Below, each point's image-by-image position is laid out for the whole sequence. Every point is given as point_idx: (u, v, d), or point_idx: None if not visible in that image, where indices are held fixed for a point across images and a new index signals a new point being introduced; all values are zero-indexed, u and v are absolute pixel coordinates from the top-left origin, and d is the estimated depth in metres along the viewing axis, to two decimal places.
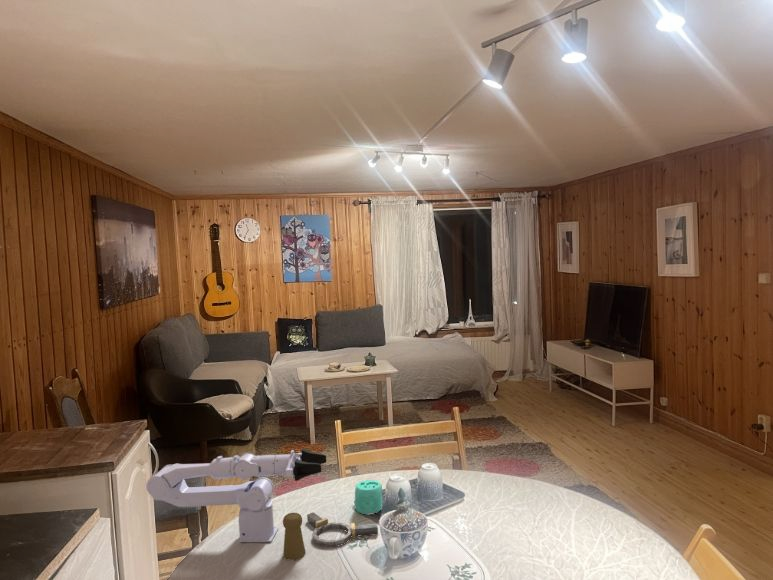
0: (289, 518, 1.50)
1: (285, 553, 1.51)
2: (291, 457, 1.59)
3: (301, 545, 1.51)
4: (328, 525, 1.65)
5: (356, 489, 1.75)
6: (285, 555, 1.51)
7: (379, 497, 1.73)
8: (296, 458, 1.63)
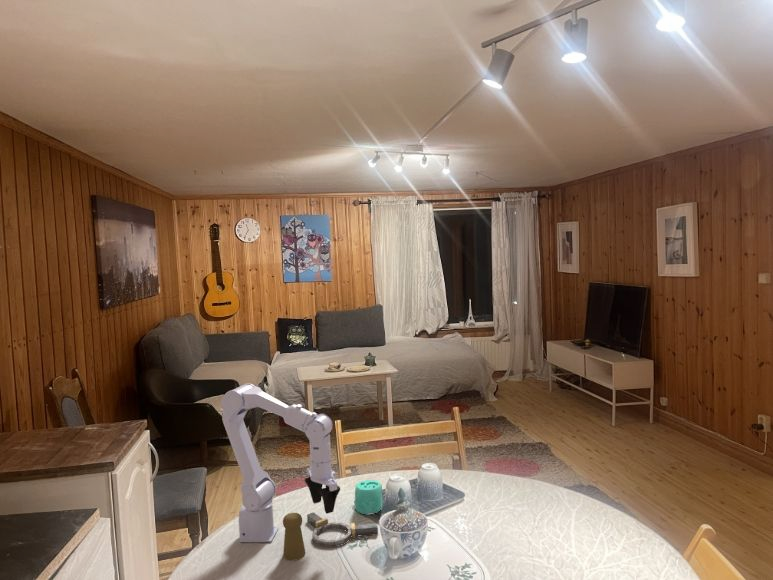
0: (289, 518, 1.50)
1: (285, 553, 1.51)
2: (332, 476, 1.56)
3: (301, 545, 1.51)
4: (328, 525, 1.65)
5: (356, 489, 1.75)
6: (285, 555, 1.51)
7: (379, 497, 1.73)
8: None
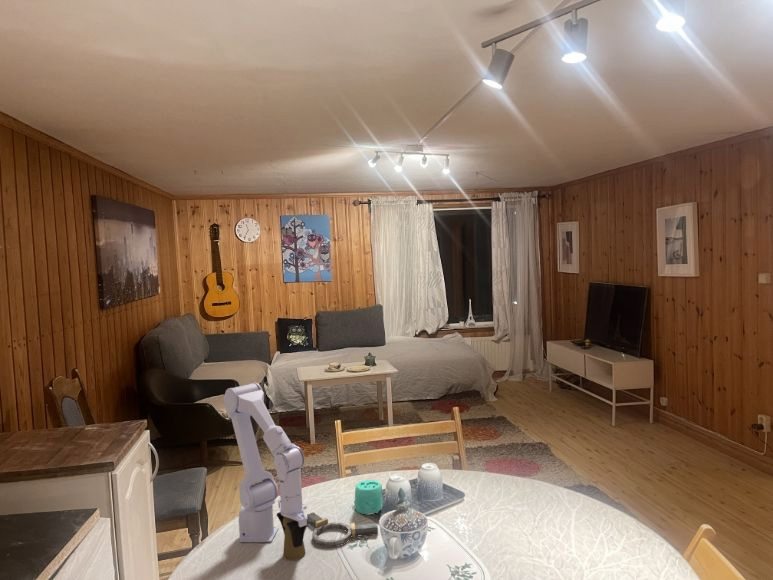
0: (289, 518, 1.50)
1: (285, 553, 1.51)
2: (303, 510, 1.52)
3: None
4: (328, 525, 1.65)
5: (356, 489, 1.75)
6: (285, 555, 1.51)
7: (379, 497, 1.73)
8: None
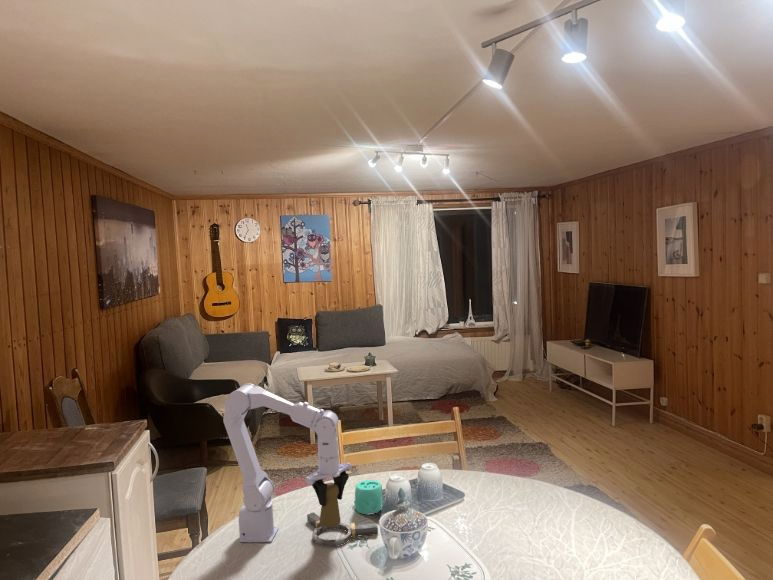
0: None
1: None
2: (329, 476, 1.57)
3: (326, 516, 1.58)
4: None
5: (356, 489, 1.75)
6: None
7: (379, 497, 1.73)
8: None
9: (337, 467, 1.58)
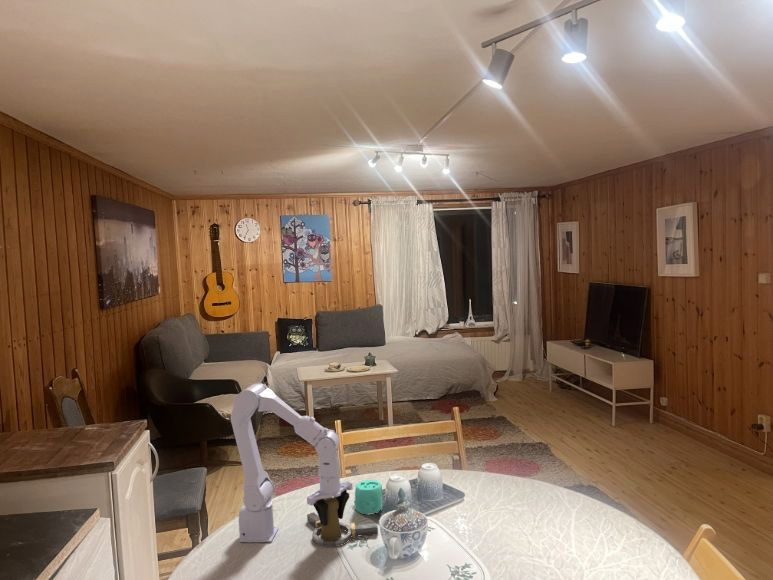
0: None
1: None
2: (330, 495, 1.57)
3: (327, 531, 1.59)
4: None
5: (356, 489, 1.75)
6: None
7: (379, 497, 1.73)
8: None
9: (338, 487, 1.59)
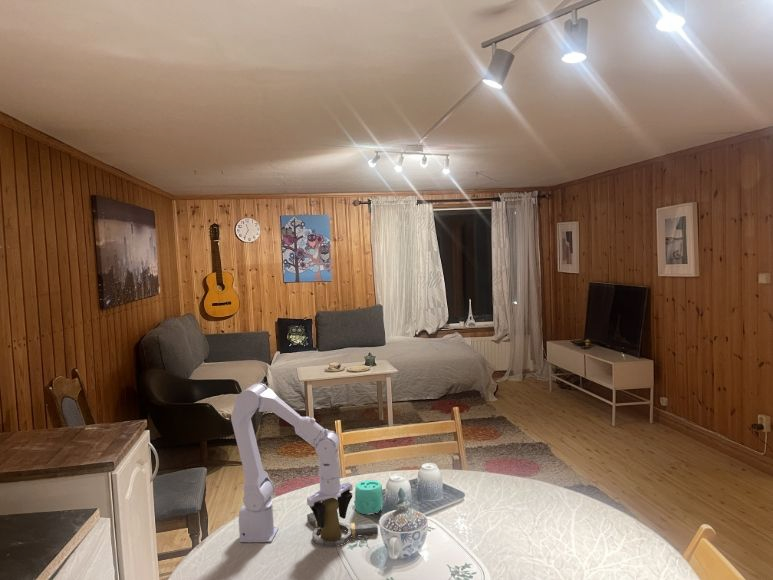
0: None
1: None
2: (330, 496, 1.57)
3: (327, 531, 1.59)
4: None
5: (356, 489, 1.75)
6: None
7: (379, 497, 1.73)
8: None
9: (338, 488, 1.59)
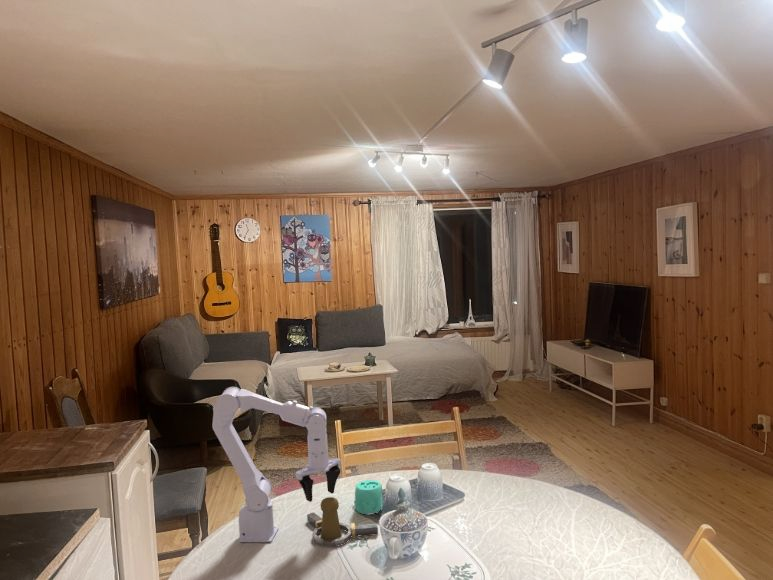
0: (323, 500, 1.61)
1: None
2: (318, 471, 1.60)
3: (327, 531, 1.59)
4: None
5: (356, 489, 1.75)
6: None
7: (379, 497, 1.73)
8: None
9: (326, 462, 1.62)
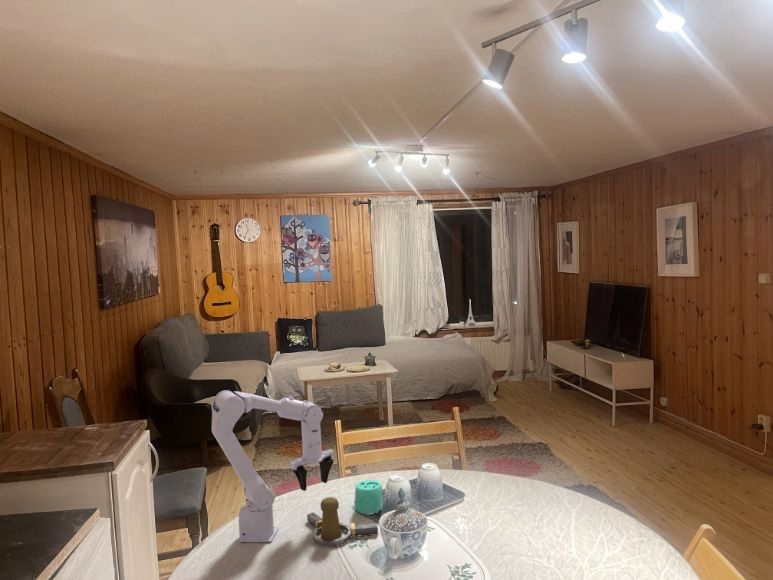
0: (323, 500, 1.61)
1: None
2: (312, 461, 1.68)
3: (327, 531, 1.59)
4: None
5: (356, 489, 1.75)
6: None
7: (379, 497, 1.73)
8: None
9: (320, 453, 1.70)
